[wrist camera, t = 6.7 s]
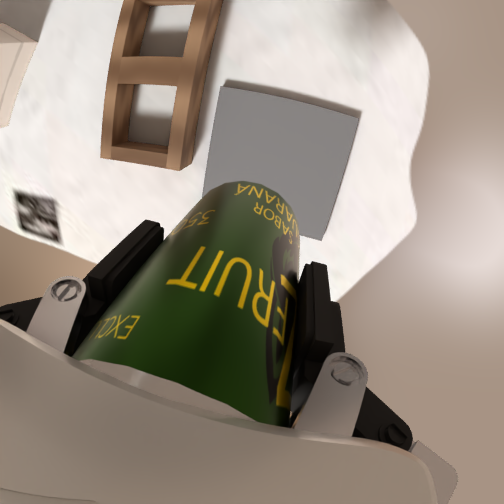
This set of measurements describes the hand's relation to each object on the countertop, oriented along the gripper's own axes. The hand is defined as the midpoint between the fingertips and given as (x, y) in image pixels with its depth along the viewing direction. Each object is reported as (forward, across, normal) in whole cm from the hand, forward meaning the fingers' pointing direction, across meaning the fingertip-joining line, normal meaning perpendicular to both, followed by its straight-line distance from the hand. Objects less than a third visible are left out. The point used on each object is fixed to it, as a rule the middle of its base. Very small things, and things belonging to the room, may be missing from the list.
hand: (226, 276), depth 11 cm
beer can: (+5, 0, 0) cm, 5 cm away
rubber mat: (+21, 0, 0) cm, 21 cm away
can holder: (+21, +14, -8) cm, 27 cm away
